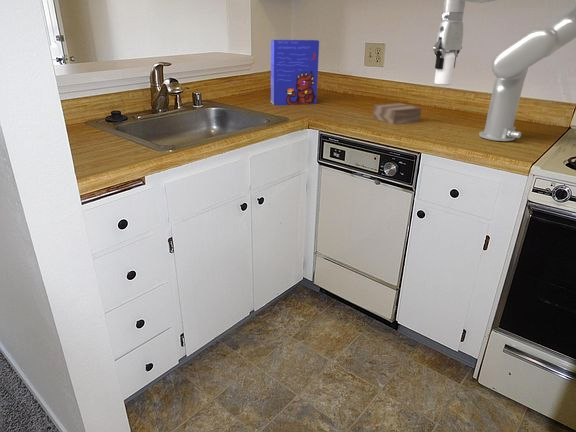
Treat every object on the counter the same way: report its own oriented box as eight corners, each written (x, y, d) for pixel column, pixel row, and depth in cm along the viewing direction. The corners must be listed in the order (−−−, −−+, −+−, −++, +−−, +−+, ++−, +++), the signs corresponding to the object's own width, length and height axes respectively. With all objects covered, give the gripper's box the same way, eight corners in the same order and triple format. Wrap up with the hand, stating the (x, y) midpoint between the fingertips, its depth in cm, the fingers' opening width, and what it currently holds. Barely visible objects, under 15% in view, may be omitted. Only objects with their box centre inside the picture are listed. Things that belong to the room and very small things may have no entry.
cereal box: (312, 103, 222) (315, 39, 209) (316, 105, 216) (319, 40, 204) (270, 104, 216) (271, 39, 204) (273, 106, 211) (274, 39, 199)
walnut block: (419, 122, 186) (421, 108, 183) (393, 125, 180) (395, 110, 177) (397, 116, 197) (399, 102, 194) (372, 118, 191) (374, 104, 189)
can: (452, 85, 168) (457, 52, 164) (434, 84, 170) (439, 52, 165) (449, 83, 174) (454, 51, 170) (433, 83, 175) (437, 51, 171)
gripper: (445, 17, 155) (437, 70, 162) (475, 18, 164) (467, 68, 171) (428, 17, 161) (422, 68, 168) (458, 18, 170) (451, 66, 177)
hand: (444, 68), depth 170 cm, fingers closed on can, 6 cm apart
